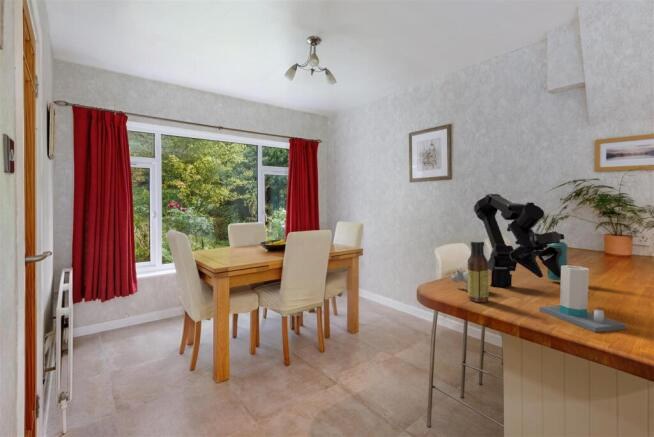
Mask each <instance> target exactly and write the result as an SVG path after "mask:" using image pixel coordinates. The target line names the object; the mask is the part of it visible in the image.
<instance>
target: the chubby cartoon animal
mask: <svg viewBox="0 0 654 437" xmlns="http://www.w3.org/2000/svg"><path fill="white" fill-rule="evenodd" d="M450 275H451V281H452V282H453V283H458V282H461V283H462V282H463V283H464V282H465V284H466V285H465V292H468V269H466V270H465V271H463V270H462V268H459V269H456V272H455V273H453V272H451V273H450Z"/></svg>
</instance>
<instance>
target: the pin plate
mask: <svg viewBox="0 0 654 437" xmlns="http://www.w3.org/2000/svg"><path fill="white" fill-rule="evenodd" d="M539 312H542V313H544V314H547V315H549V316H552V317H555V318H557V319H559V320H562V321H565V322H566V323H570V324H573V325H575V326H577V327H580V328H583V329H586V330H588V331H590V332H592V333H603V332H610V331H611V332H612V331H620V330H626V329H627V324H626V323H623V322H619V321H618V320H615V319H610V318H607V317H605V311H604V310H602V309H598V308H595V309H593V313H592V312H589V311H587V316H582V317H578V316H572V315H567V314H564V313H562V312H560V304H559V305H548V306H540V307H539Z"/></svg>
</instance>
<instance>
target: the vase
mask: <svg viewBox="0 0 654 437" xmlns="http://www.w3.org/2000/svg"><path fill="white" fill-rule="evenodd" d="M589 279H590V269H589V268H588V267H585V266H584V267H583V266H580V265H568V264H567V265H565V266H561V281H560V284H559V285H560V288H559V289H560V291H559V305H560V312H562V313H564V314H567V315H572V316H578V317H582V316H587V312H588V302H589V301H588V300H589Z"/></svg>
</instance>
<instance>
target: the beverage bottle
mask: <svg viewBox="0 0 654 437" xmlns="http://www.w3.org/2000/svg"><path fill="white" fill-rule="evenodd" d="M559 234H560V236H562V238H561V240H565V235H564V234H563V233H559ZM547 245H548V247H559V248H561V250H562V251H563V254H562V256H561V257H560V258H559V266H560V270H561V266H565V265H568V244H567V243H566V242H564V241H560V243H553V244H547ZM547 278H548V279H549V280H552V281H559V282H561V277H560V278H558V277H557V276H556V275H555V274H554V273H552V272H551V271H550V270H549V269H548V268H547Z"/></svg>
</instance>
